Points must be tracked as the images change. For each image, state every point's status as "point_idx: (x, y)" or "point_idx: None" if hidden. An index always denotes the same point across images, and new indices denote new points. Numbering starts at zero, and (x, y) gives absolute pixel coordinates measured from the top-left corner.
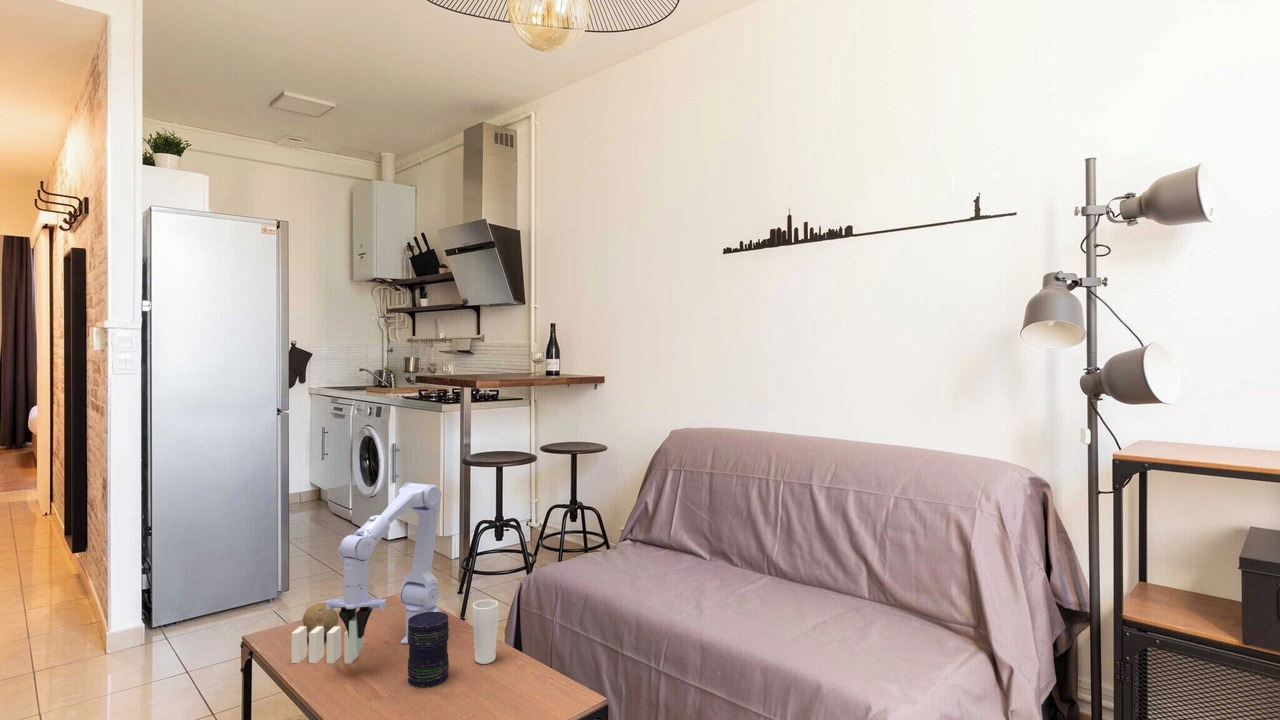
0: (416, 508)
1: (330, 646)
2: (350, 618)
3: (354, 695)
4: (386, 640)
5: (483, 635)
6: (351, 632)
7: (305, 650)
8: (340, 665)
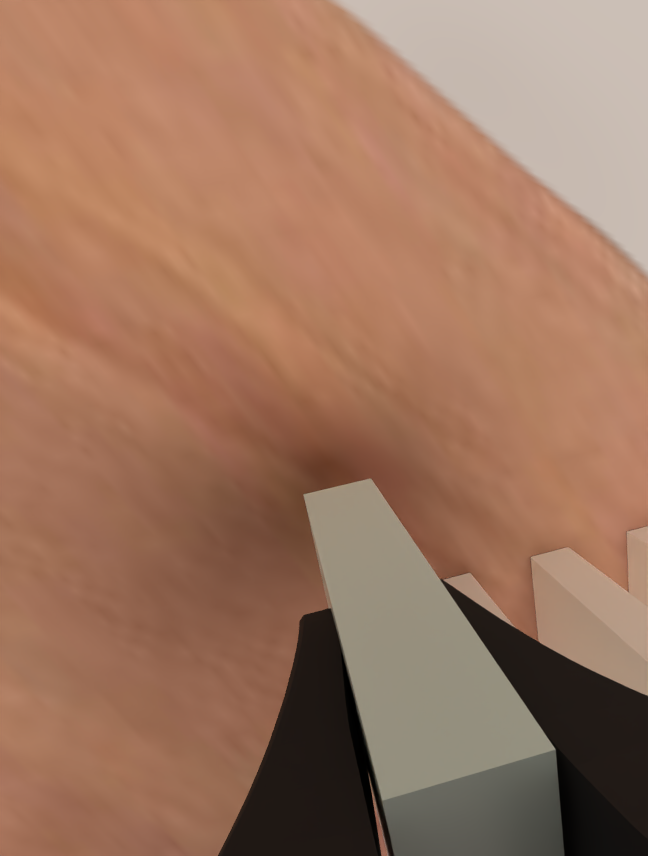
0: None
1: (622, 613)
2: (585, 847)
3: (136, 206)
4: None
5: None
6: (409, 598)
7: None
8: (478, 547)
